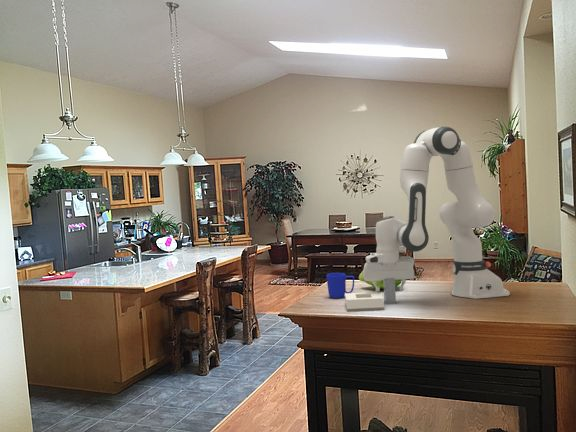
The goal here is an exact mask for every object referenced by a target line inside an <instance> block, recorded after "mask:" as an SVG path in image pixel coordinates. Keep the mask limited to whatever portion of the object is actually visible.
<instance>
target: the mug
mask: <svg viewBox="0 0 576 432" xmlns="http://www.w3.org/2000/svg"><path fill="white" fill-rule="evenodd" d="M325 276H326V282H327V283H326V285H327V289H328V290H327V291H328V296H329V298H332V299H341V298H345V293H353V291H354V288H355V275H346V274H345V273H344V272H331V273H328V274H326V275H325ZM347 278H351V279H352V285H351V286H352V287H351V290H350V291H347V290H346V289H347V288H346V284H347V283H346V282H347Z"/></svg>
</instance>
